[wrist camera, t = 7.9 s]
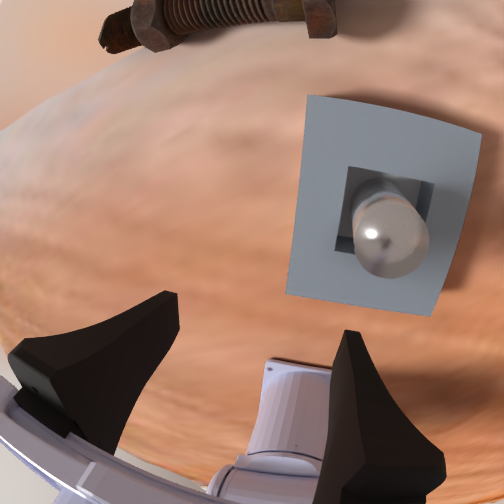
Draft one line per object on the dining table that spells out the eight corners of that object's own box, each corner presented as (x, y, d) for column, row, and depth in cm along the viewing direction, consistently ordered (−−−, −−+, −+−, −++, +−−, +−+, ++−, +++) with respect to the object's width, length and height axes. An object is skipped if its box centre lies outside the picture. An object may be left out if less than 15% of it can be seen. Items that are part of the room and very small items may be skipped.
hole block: (421, 292, 20) (430, 316, 18) (291, 271, 22) (285, 293, 20) (462, 129, 15) (482, 134, 12) (311, 97, 17) (307, 94, 14)
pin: (402, 234, 18) (422, 280, 13) (349, 231, 19) (351, 277, 14) (406, 179, 17) (433, 207, 12) (350, 176, 18) (355, 202, 13)
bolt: (139, 33, 19) (335, 5, 15) (121, 81, 18) (338, 54, 14) (99, -8, 13) (325, -62, 9) (70, 40, 13) (331, -22, 9)
